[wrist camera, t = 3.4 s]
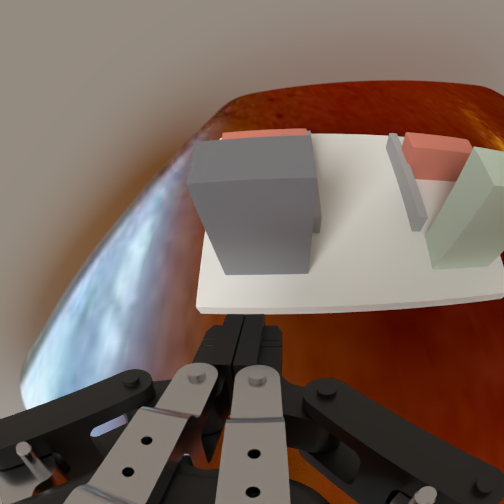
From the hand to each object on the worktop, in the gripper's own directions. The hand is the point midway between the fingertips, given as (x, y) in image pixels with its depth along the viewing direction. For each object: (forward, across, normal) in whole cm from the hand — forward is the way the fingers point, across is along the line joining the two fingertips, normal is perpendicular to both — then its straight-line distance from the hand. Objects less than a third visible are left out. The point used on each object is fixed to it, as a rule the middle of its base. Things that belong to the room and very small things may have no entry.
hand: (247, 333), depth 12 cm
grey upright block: (+11, 0, 0) cm, 11 cm away
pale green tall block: (+11, -16, 0) cm, 20 cm away
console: (+16, -8, -2) cm, 18 cm away
